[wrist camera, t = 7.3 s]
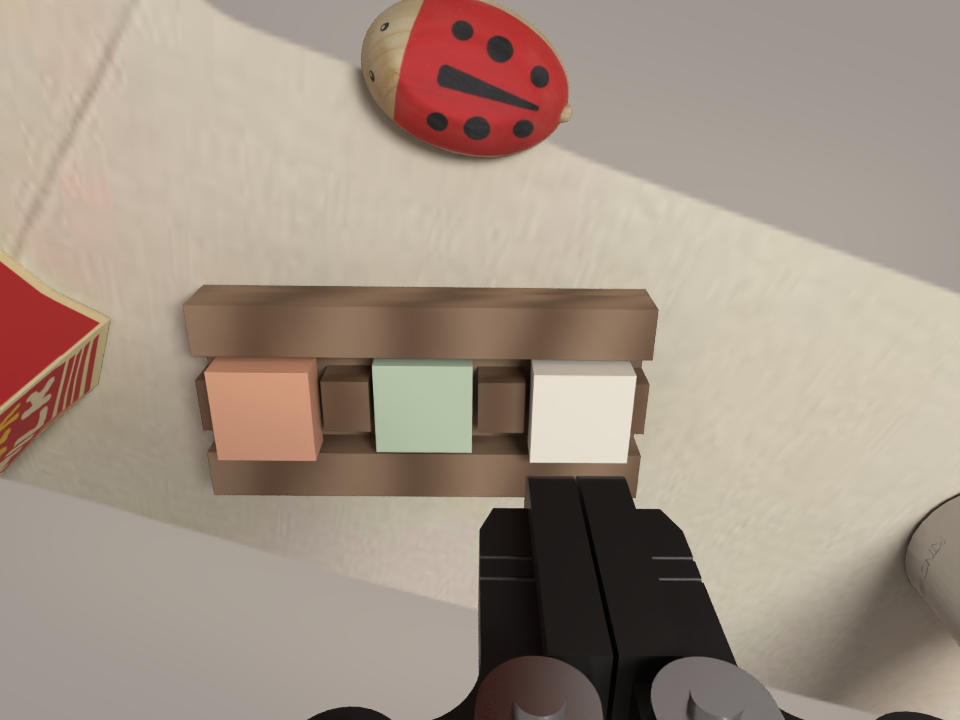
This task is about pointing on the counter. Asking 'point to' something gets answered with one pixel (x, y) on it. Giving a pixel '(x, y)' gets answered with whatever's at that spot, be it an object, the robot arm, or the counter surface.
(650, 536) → the robot arm
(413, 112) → the ladybug figurine
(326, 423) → the key board
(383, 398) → the sage green key
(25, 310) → the milk carton
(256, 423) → the terracotta key
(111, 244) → the counter surface
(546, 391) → the ivory key
